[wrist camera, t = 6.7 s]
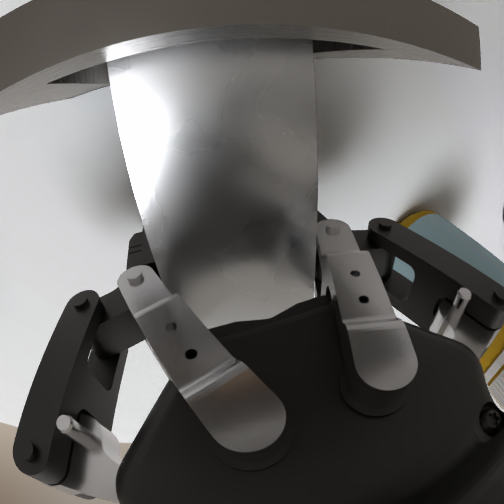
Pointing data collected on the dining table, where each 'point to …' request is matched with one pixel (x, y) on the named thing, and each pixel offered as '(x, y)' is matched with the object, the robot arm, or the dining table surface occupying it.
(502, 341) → the bottle
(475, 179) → the dining table surface
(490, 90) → the dining table surface
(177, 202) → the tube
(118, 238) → the dining table surface
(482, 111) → the dining table surface
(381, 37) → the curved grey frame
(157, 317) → the robot arm
